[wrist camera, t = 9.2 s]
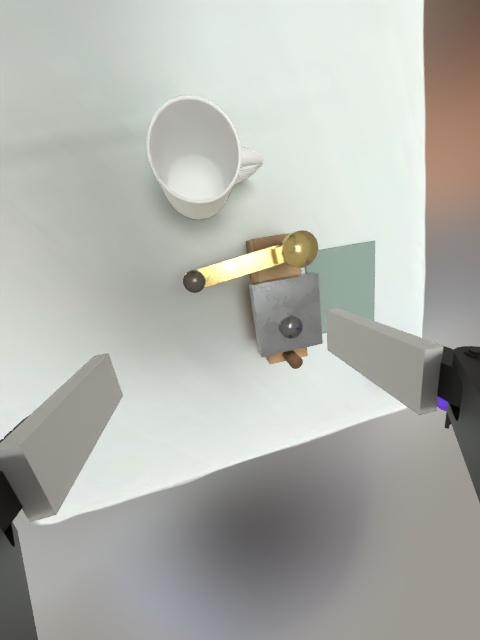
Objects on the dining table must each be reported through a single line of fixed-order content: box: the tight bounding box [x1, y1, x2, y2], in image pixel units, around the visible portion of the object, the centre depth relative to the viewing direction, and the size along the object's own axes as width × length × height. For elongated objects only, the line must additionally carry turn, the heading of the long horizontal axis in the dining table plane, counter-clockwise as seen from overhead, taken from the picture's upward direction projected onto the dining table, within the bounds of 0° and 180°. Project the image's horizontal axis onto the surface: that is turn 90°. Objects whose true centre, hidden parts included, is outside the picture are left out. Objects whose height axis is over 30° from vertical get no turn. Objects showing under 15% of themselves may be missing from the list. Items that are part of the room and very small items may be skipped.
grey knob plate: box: [249, 272, 322, 357], centre depth 31 cm, size 10×9×3 cm
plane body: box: [246, 233, 308, 369], centre depth 32 cm, size 18×6×11 cm, turn 9°
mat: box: [305, 241, 375, 334], centre depth 39 cm, size 14×12×1 cm
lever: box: [183, 231, 318, 293], centre depth 25 cm, size 14×4×4 cm, turn 107°
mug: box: [146, 95, 263, 219], centre depth 26 cm, size 9×12×11 cm
